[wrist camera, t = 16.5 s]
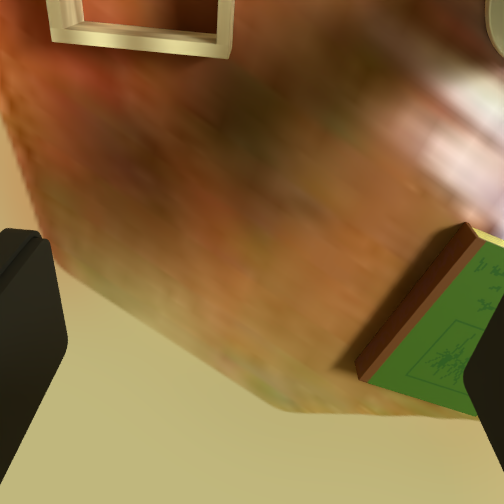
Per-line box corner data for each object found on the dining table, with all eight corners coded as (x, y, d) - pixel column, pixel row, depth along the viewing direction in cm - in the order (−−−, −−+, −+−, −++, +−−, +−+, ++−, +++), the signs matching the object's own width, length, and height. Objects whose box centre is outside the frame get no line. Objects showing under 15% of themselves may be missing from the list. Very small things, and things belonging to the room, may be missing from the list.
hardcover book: (463, 219, 50) (476, 237, 47) (593, 273, 54) (614, 293, 50) (351, 362, 63) (355, 383, 60) (462, 397, 67) (472, 419, 64)
